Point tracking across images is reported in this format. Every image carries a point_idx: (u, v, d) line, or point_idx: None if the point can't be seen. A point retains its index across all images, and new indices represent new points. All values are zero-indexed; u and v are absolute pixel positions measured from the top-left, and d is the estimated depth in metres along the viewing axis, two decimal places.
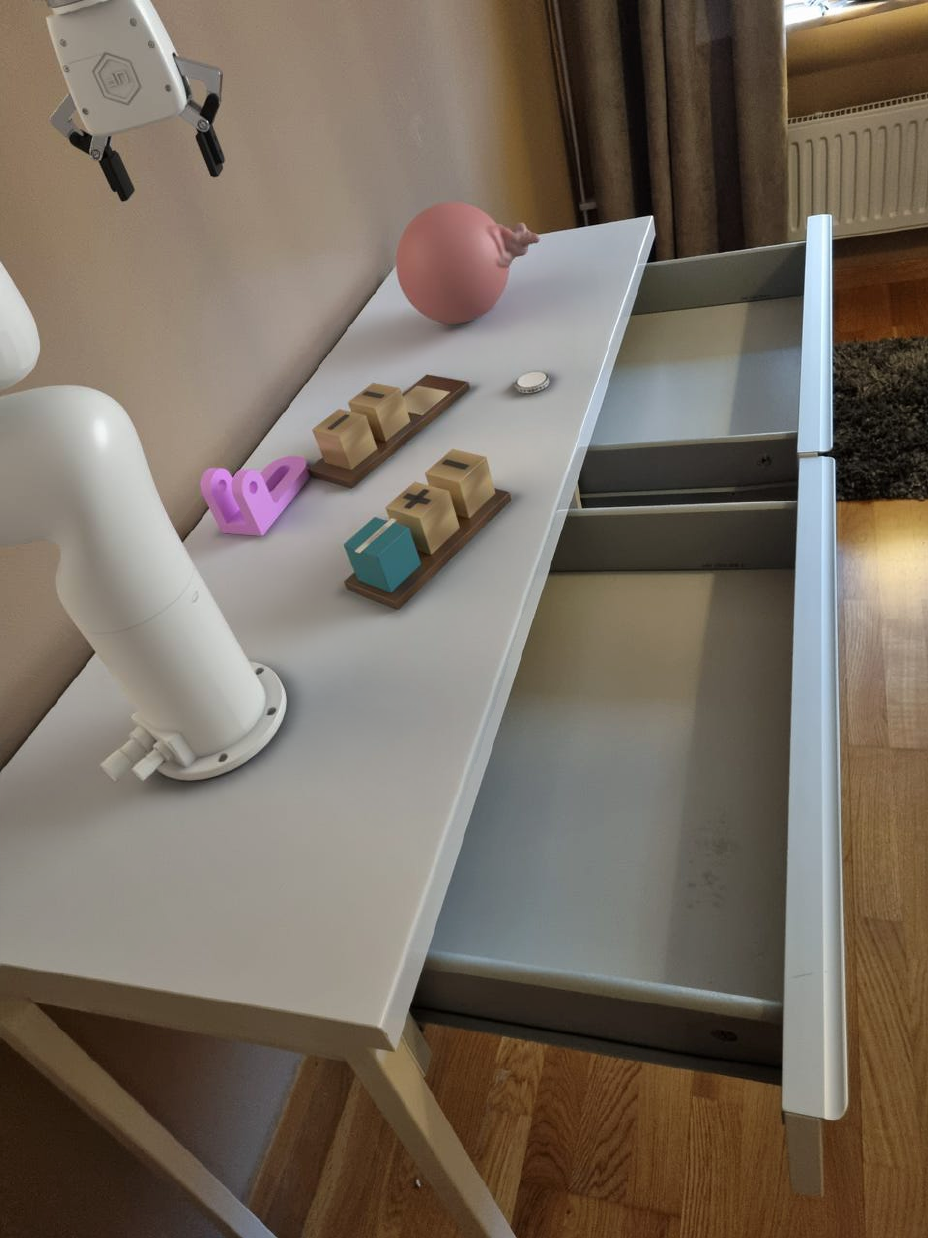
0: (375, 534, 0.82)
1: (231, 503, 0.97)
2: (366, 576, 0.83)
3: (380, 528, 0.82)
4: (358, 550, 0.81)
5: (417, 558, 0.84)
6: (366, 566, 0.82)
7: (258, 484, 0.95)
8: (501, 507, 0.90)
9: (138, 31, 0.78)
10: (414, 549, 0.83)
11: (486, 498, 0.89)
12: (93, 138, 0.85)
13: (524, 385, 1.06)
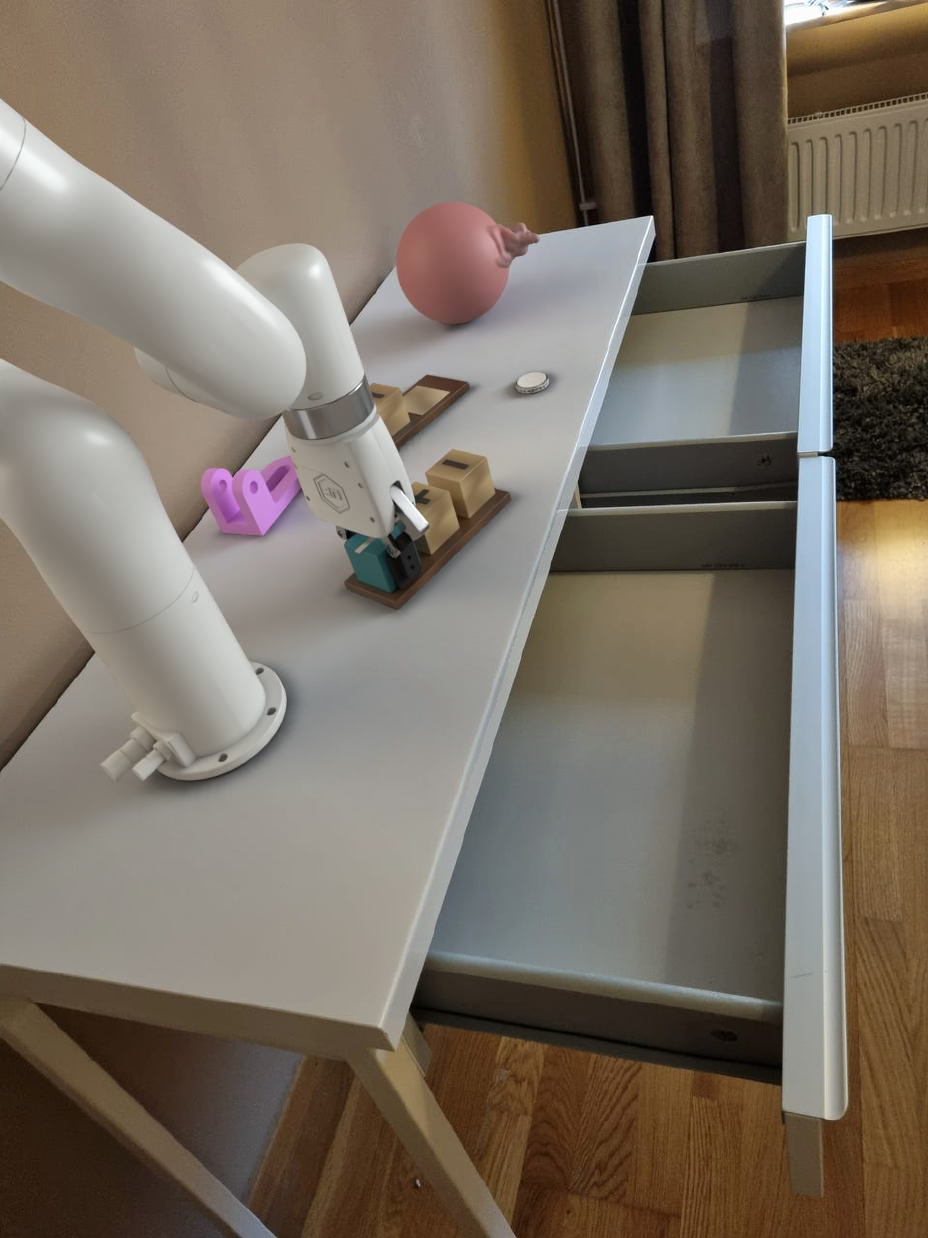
0: None
1: (231, 503, 0.97)
2: (366, 576, 0.83)
3: None
4: (358, 550, 0.81)
5: None
6: (367, 566, 0.82)
7: (258, 484, 0.95)
8: (501, 507, 0.90)
9: (351, 472, 0.72)
10: None
11: (486, 498, 0.89)
12: None
13: (524, 385, 1.06)
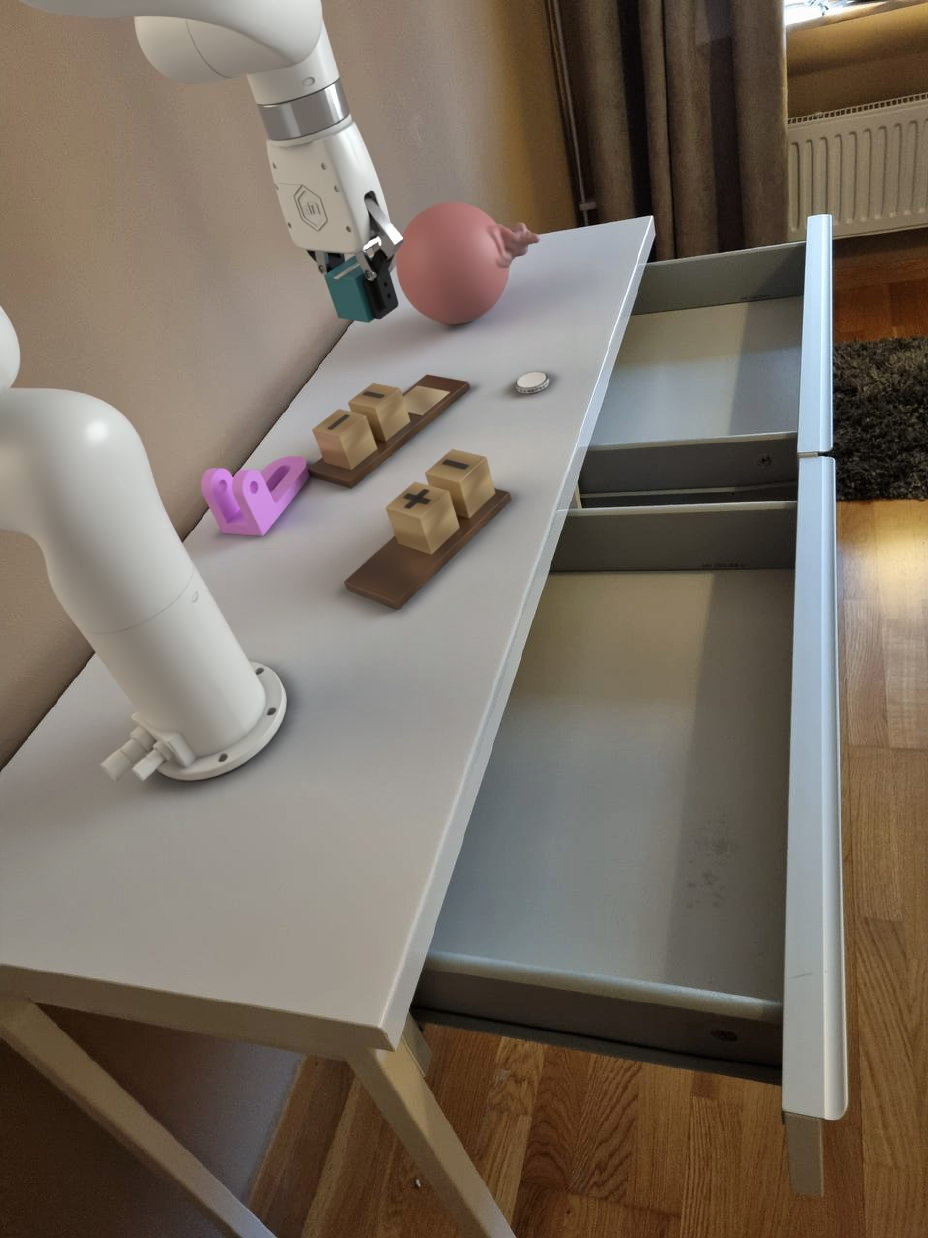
0: (354, 265, 0.87)
1: (232, 503, 0.97)
2: (346, 309, 0.88)
3: None
4: (337, 276, 0.85)
5: None
6: (346, 295, 0.86)
7: (259, 484, 0.95)
8: (501, 507, 0.90)
9: (327, 174, 0.77)
10: None
11: (486, 498, 0.89)
12: (316, 255, 0.87)
13: (524, 385, 1.06)
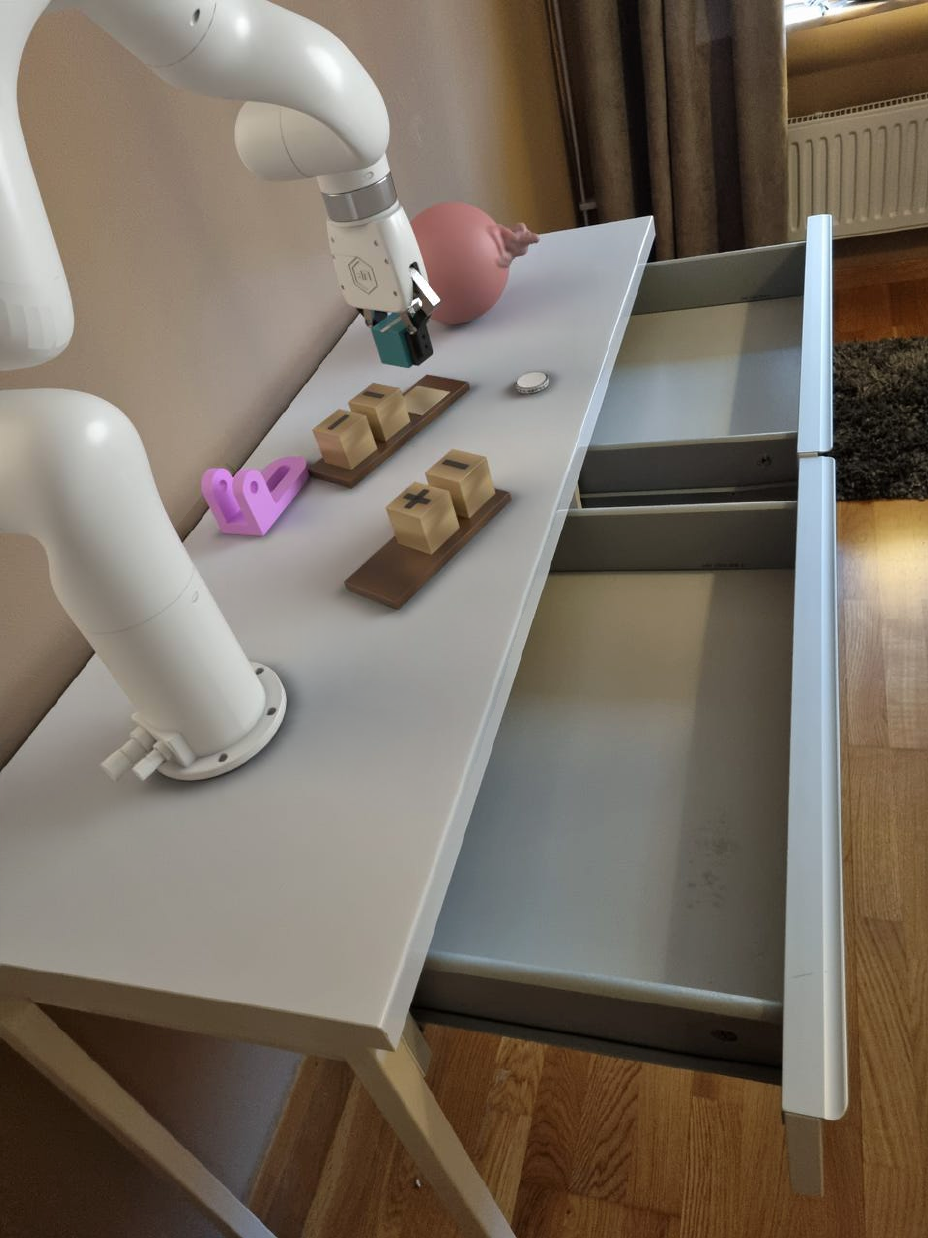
0: (396, 320, 1.02)
1: (232, 503, 0.97)
2: (389, 356, 1.03)
3: None
4: (383, 330, 1.01)
5: None
6: (389, 345, 1.02)
7: (259, 484, 0.95)
8: (501, 507, 0.90)
9: (379, 250, 0.92)
10: None
11: (486, 498, 0.89)
12: (364, 312, 1.02)
13: (524, 385, 1.06)
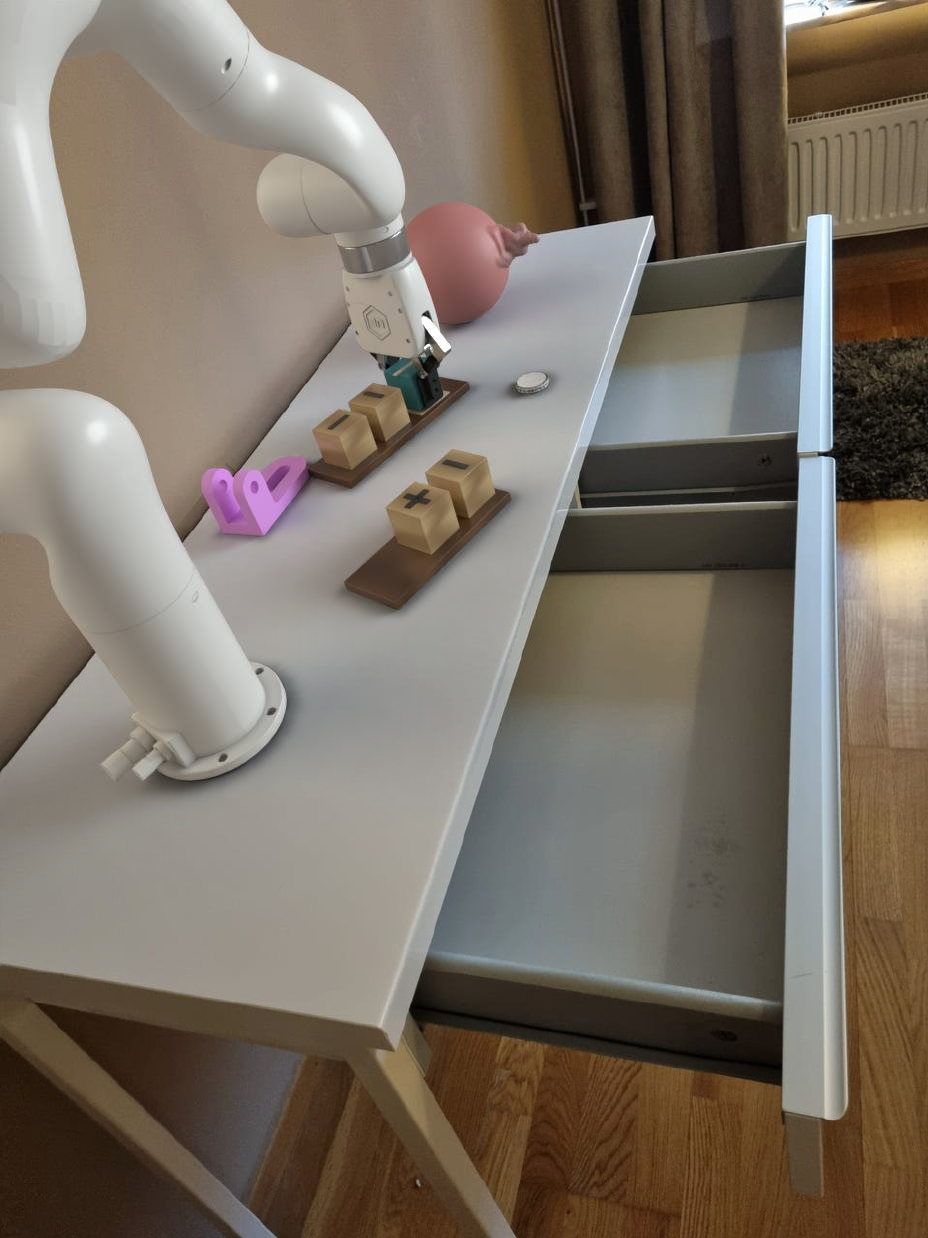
0: (408, 364, 1.05)
1: (232, 503, 0.97)
2: None
3: None
4: (395, 374, 1.04)
5: None
6: (401, 388, 1.05)
7: (259, 484, 0.95)
8: (501, 507, 0.90)
9: (393, 300, 0.96)
10: None
11: (486, 498, 0.89)
12: (377, 356, 1.06)
13: (524, 385, 1.06)
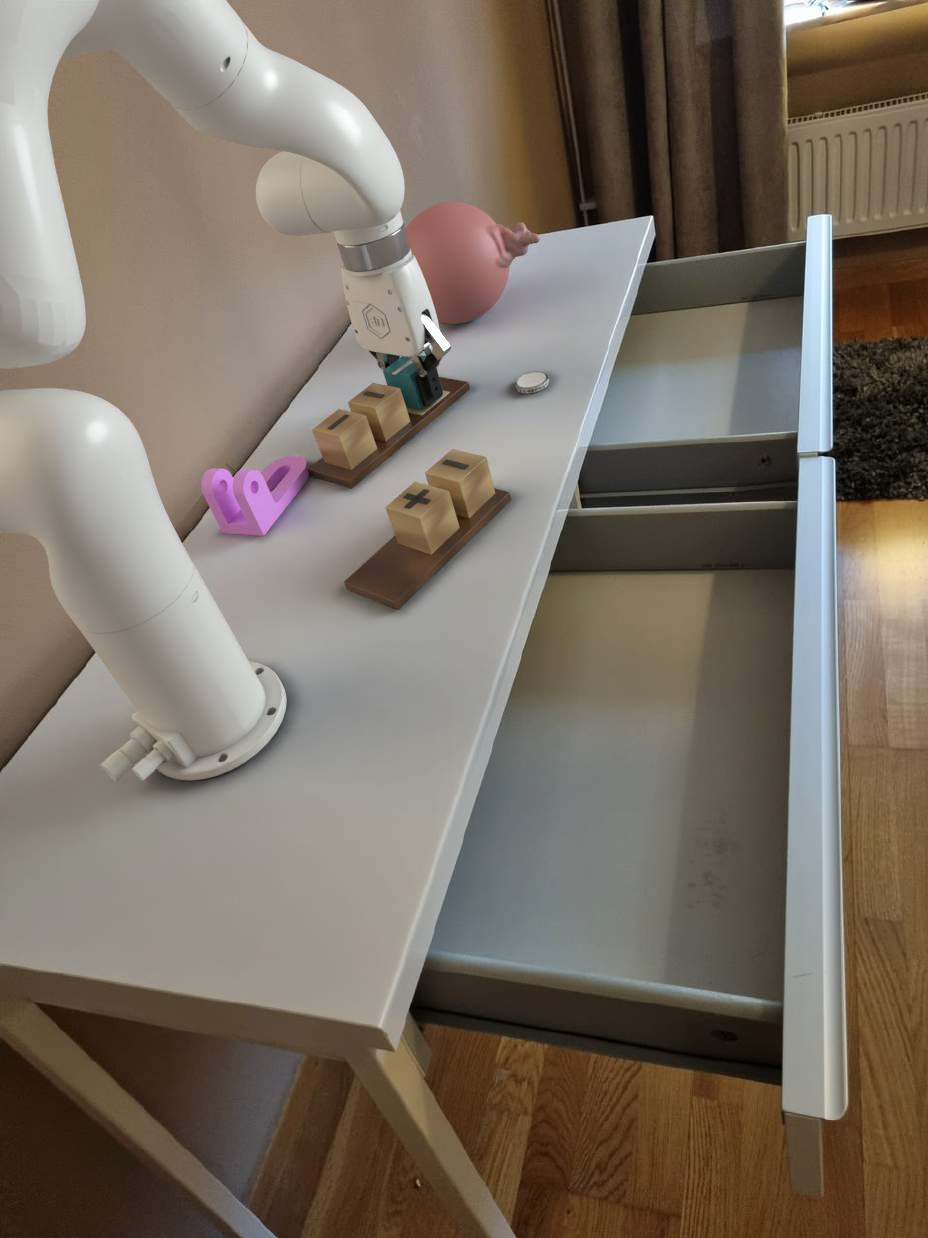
0: (407, 362, 1.05)
1: (232, 503, 0.97)
2: None
3: None
4: (395, 372, 1.04)
5: None
6: (401, 387, 1.05)
7: (259, 484, 0.95)
8: (501, 507, 0.90)
9: (392, 298, 0.95)
10: None
11: (486, 498, 0.89)
12: (376, 354, 1.05)
13: (524, 385, 1.06)
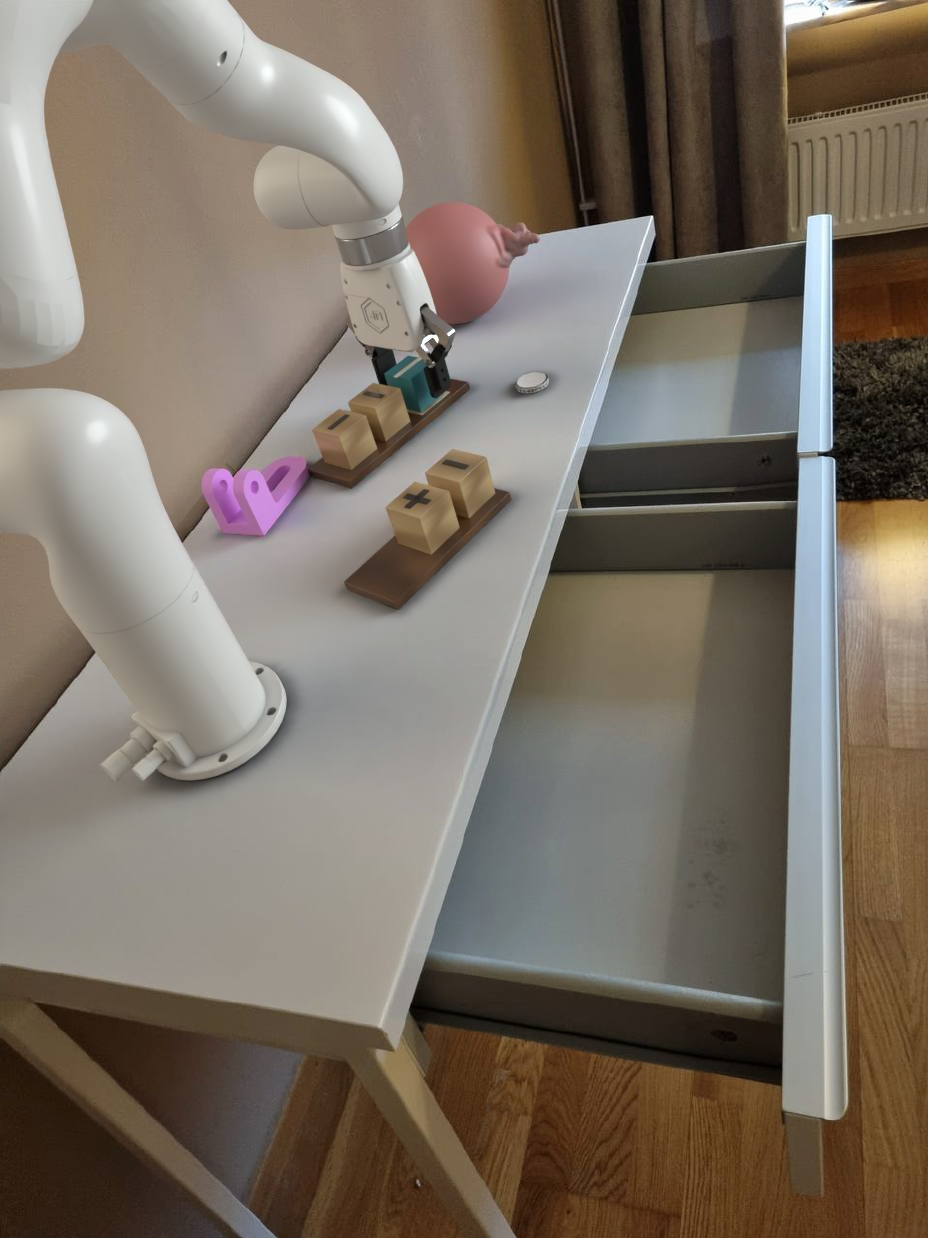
0: (409, 365, 1.06)
1: (232, 503, 0.97)
2: None
3: (413, 361, 1.06)
4: (396, 375, 1.04)
5: None
6: (402, 390, 1.05)
7: (259, 484, 0.95)
8: (501, 507, 0.90)
9: (391, 292, 0.95)
10: None
11: (486, 498, 0.89)
12: None
13: (524, 385, 1.06)
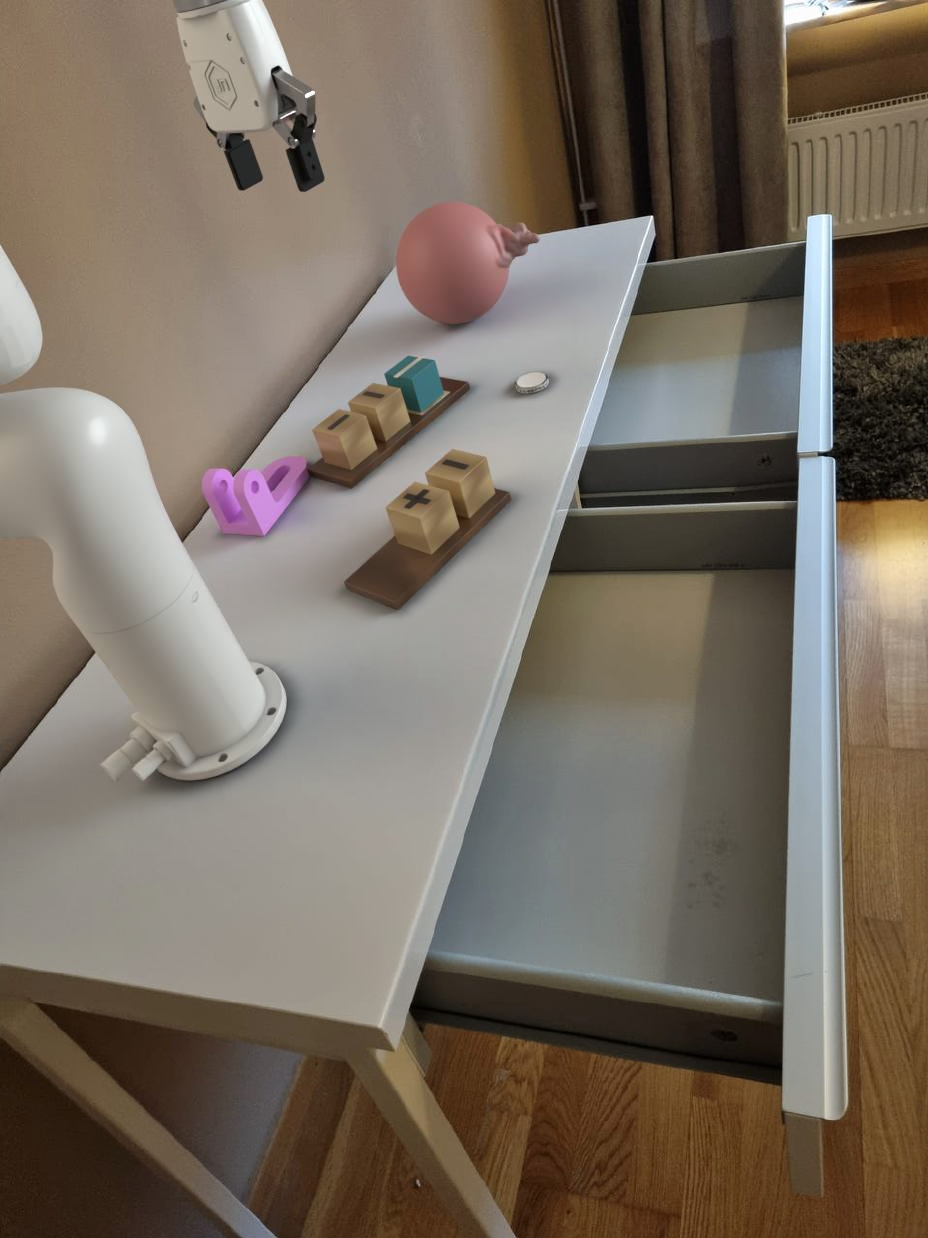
0: (409, 365, 1.06)
1: (232, 503, 0.97)
2: None
3: (413, 361, 1.06)
4: (396, 375, 1.04)
5: (441, 387, 1.07)
6: (402, 390, 1.05)
7: (259, 484, 0.95)
8: (501, 507, 0.90)
9: (233, 46, 0.79)
10: (439, 379, 1.07)
11: (486, 498, 0.89)
12: None
13: (523, 385, 1.06)
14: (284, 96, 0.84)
